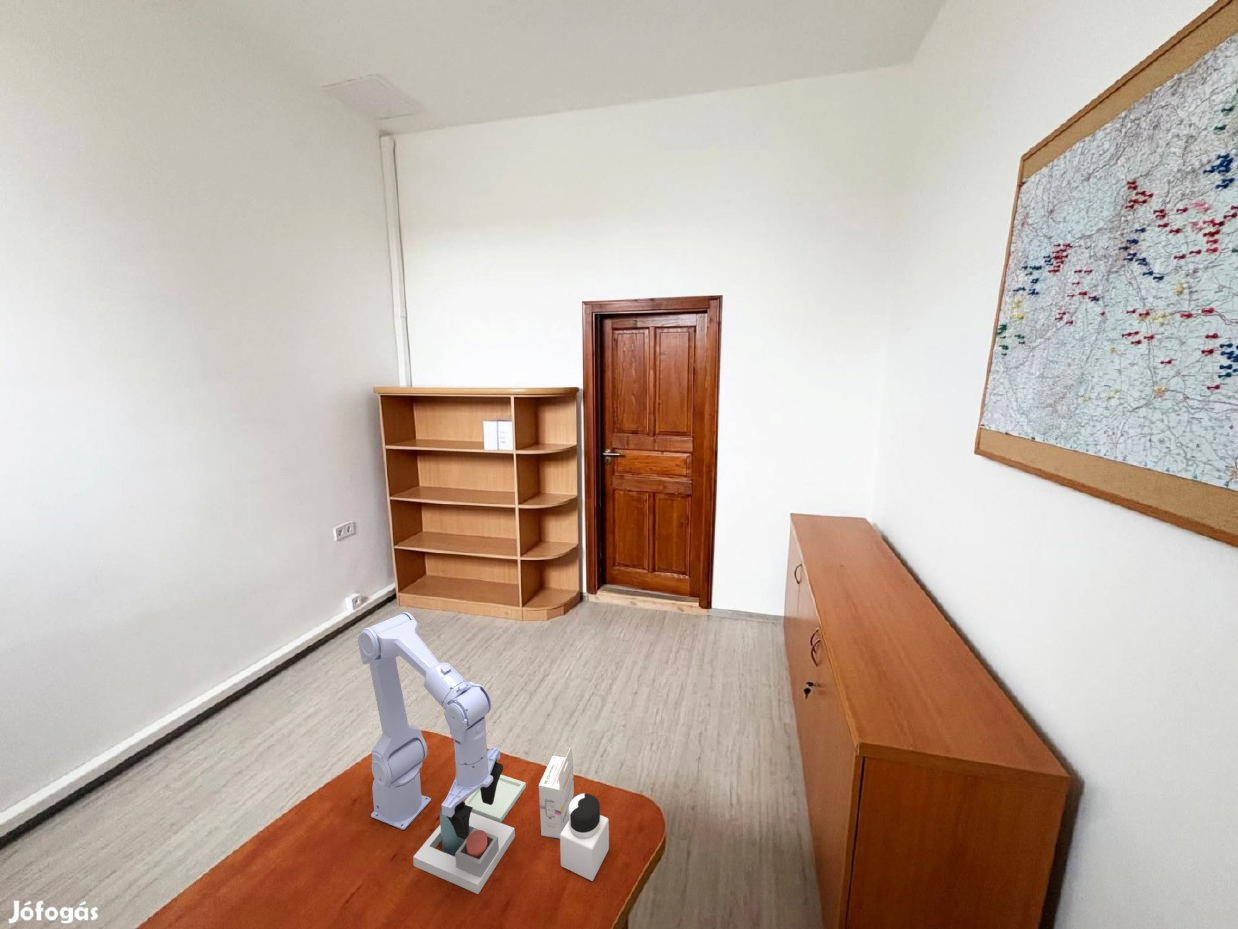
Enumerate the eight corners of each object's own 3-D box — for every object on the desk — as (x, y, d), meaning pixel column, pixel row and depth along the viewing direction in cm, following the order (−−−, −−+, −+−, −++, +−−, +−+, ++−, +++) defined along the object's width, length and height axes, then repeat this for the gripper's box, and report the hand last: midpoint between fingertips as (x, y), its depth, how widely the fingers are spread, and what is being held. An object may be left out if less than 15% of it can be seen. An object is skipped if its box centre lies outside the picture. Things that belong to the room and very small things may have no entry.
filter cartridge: (437, 852, 92) (434, 816, 91) (452, 833, 96) (450, 799, 95) (455, 859, 91) (452, 823, 90) (469, 840, 95) (467, 805, 94)
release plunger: (462, 858, 88) (461, 845, 87) (475, 840, 91) (474, 827, 91) (479, 864, 86) (478, 851, 86) (491, 846, 90) (491, 833, 89)
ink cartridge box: (553, 801, 104) (551, 742, 102) (574, 805, 103) (573, 745, 101) (539, 836, 96) (537, 772, 94) (562, 840, 95) (560, 776, 93)
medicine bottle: (609, 849, 93) (608, 795, 91) (592, 882, 86) (591, 825, 85) (578, 835, 96) (577, 783, 94) (560, 866, 89) (558, 811, 88)
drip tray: (462, 809, 102) (462, 804, 102) (489, 775, 111) (489, 771, 111) (500, 823, 99) (500, 818, 98) (525, 787, 108) (525, 782, 108)
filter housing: (413, 866, 90) (412, 843, 89) (455, 814, 101) (454, 794, 100) (478, 894, 84) (476, 870, 84) (514, 836, 96) (513, 815, 95)
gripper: (462, 789, 78) (468, 861, 80) (511, 732, 91) (515, 794, 93) (429, 778, 80) (435, 848, 82) (481, 724, 94) (485, 785, 96)
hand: (475, 819), depth 88 cm, fingers open, 7 cm apart
